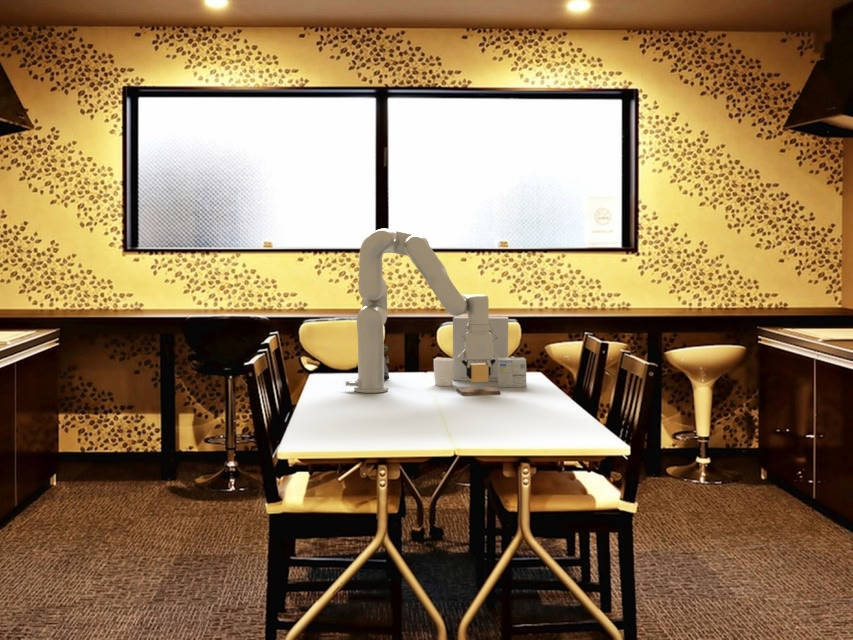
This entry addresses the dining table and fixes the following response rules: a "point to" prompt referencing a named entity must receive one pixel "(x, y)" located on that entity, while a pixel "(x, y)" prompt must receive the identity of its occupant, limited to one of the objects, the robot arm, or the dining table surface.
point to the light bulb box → (511, 372)
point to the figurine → (386, 373)
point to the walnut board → (478, 390)
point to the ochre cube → (479, 372)
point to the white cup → (443, 371)
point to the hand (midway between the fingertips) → (478, 377)
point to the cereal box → (499, 339)
